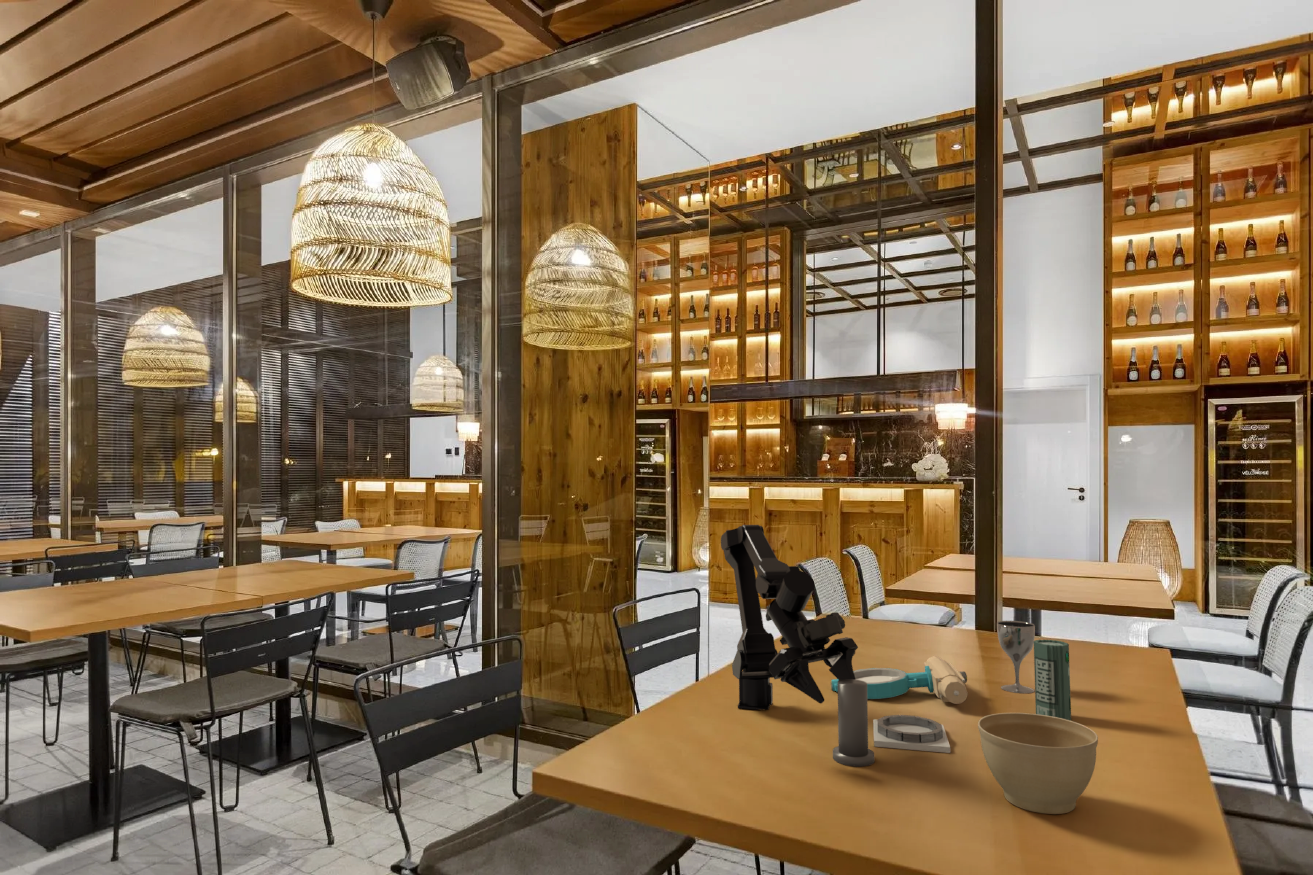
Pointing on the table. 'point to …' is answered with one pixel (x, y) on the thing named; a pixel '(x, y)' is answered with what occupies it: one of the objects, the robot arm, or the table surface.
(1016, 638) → the wine glass
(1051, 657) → the can
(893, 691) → the butterfly valve
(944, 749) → the flange plate
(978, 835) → the table surface
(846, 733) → the pipe fitting
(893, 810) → the table surface
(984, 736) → the planter bowl
